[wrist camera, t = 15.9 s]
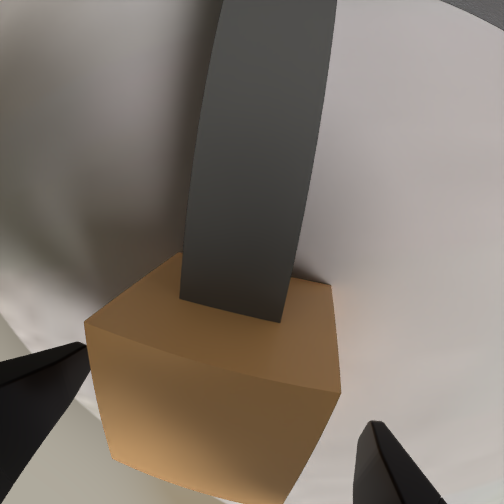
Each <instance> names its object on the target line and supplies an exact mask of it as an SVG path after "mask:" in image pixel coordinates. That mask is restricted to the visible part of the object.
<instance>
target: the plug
mask: <svg viewBox="0 0 504 504" xmlns="http://www.w3.org/2000/svg"><path fill="white" fill-rule="evenodd" d="M336 6H337V0H223V4H222V8H221V13H220V17H219V21H218V26H217V30H216V35H215V40H214V44H213V49H212V54H211V59H210V64H209V69H208V74H207V80H206V85H205V91H204V96H203V102H202V108H201V114H200V120H199V126H198V132H197V139H196V146H195V153H194V160H193V167H192V174H191V182H190V190H189V198H188V207H187V216H186V225H185V235H184V245H183V253H180V252H178V253H177V254H175V255H174V256H172V257H171V258H170V259H168V260H167V261H165V262H164V263H163V264H161V265H160V266H158V267H157V268H156V269H154V270H153V271H151V272H150V273H149V274H147V275H146V276H145V277H143V278H142V279H140V280H139V281H138V282H136V283H135V284H134V285H132V286H131V287H129V288H128V289H127V290H125V291H124V292H123V293H121V294H120V295H119V296H117V297H116V298H115V299H113V300H112V301H111V302H109V303H108V304H107V305H105V306H104V307H103V308H101V309H100V310H99V311H97V312H96V313H95V314H93V315H92V316H91V317H89V318H88V319H87V320H85V321H84V327H85V335H86V343H87V350H88V356H89V362H90V368H91V374H92V379H93V384H94V389H95V394H96V399H97V403H98V408H99V412H100V416H101V420H102V424H103V428H104V432H105V435H106V439H107V442H108V446H109V450H110V453H111V456H112V459H114V460H116V461H119V462H121V463H123V464H125V465H127V466H130V467H132V468H134V469H136V470H139V471H141V472H144V473H146V474H149V475H151V476H154V477H156V478H159V479H162V480H164V481H167V482H170V483H173V484H176V485H179V486H181V487H184V488H188V489H191V490H194V491H197V492H201V493H204V494H207V495H211V496H215V497H218V498H222V499H226V500H230V501H234V502H239V503H243V504H283V503H284V501H285V500H286V498H287V496H288V495H289V493H290V491H291V490H292V488H293V486H294V485H295V483H296V481H297V479H298V478H299V476H300V474H301V472H302V471H303V469H304V467H305V465H306V463H307V462H308V460H309V458H310V456H311V454H312V452H313V450H314V449H315V447H316V445H317V443H318V441H319V439H320V437H321V435H322V433H323V431H324V429H325V427H326V425H327V423H328V421H329V419H330V416H331V414H332V412H333V410H334V408H335V406H336V404H337V401H338V399H339V397H340V395H341V382H340V368H339V356H338V345H337V334H336V324H335V315H334V306H333V297H332V289H331V285H327V284H322V283H317V282H313V281H308V280H303V279H298V278H294V277H291V274H292V269H293V265H294V260H295V255H296V250H297V245H298V241H299V236H300V231H301V226H302V221H303V216H304V211H305V205H306V200H307V195H308V190H309V184H310V179H311V173H312V168H313V162H314V157H315V151H316V145H317V139H318V133H319V127H320V121H321V115H322V109H323V102H324V96H325V89H326V82H327V76H328V69H329V61H330V54H331V47H332V39H333V31H334V23H335V15H336Z"/></svg>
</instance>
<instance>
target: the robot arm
mask: <svg viewBox="0 0 504 504" xmlns="http://www.w3.org/2000/svg"><path fill="white" fill-rule="evenodd" d="M90 370H91V368H90V362H89V356H88V350H87V345H85V344H83V343H81V342H73V343H70V344H66V345H63V346H59V347H55V348H52V349H48V350H44V351H40V352H37V353H33V354H29V355H26V356H21V357H17V358H14V359H10V360H6V361H2V362H0V504H1V503H2V502H3V500H4V498H5V497H6V495H7V494H8V492H9V491H10V489H11V488H12V486H13V484H14V483H15V482H16V480H17V479H18V477H19V476H20V474H21V472H22V471H23V470H24V468H25V466H26V465H27V464H28V462H29V461H30V460H31V458H32V456H33V455H34V454H35V452H36V451H37V449H38V448H39V447H40V445H41V444H42V442H43V441H44V440H45V438H46V437H47V435H48V434H49V433H50V431H51V430H52V429H53V427H54V426H55V424H56V423H57V422H58V420H59V419H60V417H61V416H62V415H63V414H64V412H65V411H66V409H67V408H68V407H69V405H70V404H71V402H72V401H73V399H74V398H75V396H76V394H77V392H78V391H79V389H80V387H81V386H82V384H83V382H84V380H85V379H86V377H87V375H88V374H89V372H90ZM353 504H447V503H446V502H445V500H444V499H443V498H441V495H440V494H439V493H438V492H437V490H436V489H435V488H434V486H433V485H432V484H431V483H430V481H429V480H428V479H427V478H426V476H425V475H424V474H423V472H422V471H421V470H420V469H419V467H418V466H417V465H416V463H415V462H414V461H413V460H412V458H411V457H410V456H409V454H408V453H407V452H406V451H405V449H404V448H403V447H402V445H401V444H400V443H399V442H398V440H397V439H396V438H395V436H394V435H393V434H392V433H391V431H390V430H389V429H388V428H387V426H386V425H385V424H384V423H383V422H382V421H373V420H372V421H369V422H368V423H367V425H366V427H365V429H364V430H363V432H362V434H361V435H360V437H359V439H358V444H357V454H356V464H355V473H354V482H353Z"/></svg>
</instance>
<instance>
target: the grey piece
mask: <svg viewBox="0 0 504 504" xmlns="http://www.w3.org/2000/svg"><path fill="white" fill-rule="evenodd" d="M442 1H444V2H447V3H449V4H451V5H454V6H456V7H458V8H461V9H463V10H465V11H467V12H469V13H471V14H474V15H476V16H478V17H480V18H482V19H484V20H486V21H488V22H489V23H491V24H493V25H495V26H497V27H499V28H501V29H502V30H504V0H442Z"/></svg>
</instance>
